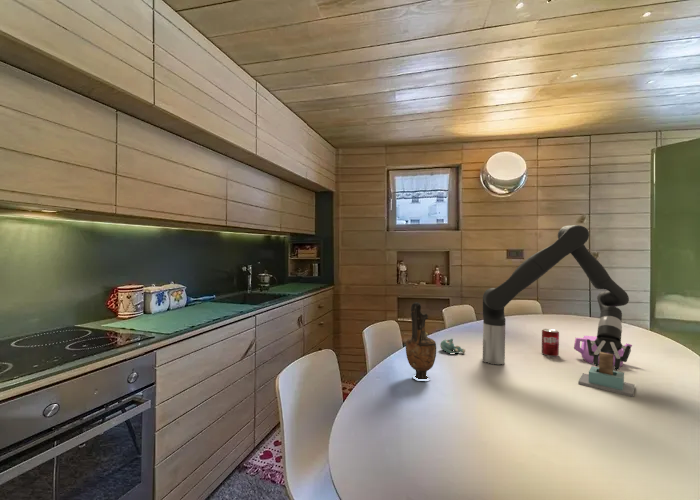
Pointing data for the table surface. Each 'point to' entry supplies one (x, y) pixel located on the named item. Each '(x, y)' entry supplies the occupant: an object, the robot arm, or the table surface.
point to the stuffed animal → (450, 346)
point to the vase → (420, 344)
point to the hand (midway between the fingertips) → (606, 367)
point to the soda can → (550, 342)
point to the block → (606, 363)
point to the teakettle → (585, 352)
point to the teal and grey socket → (607, 381)
